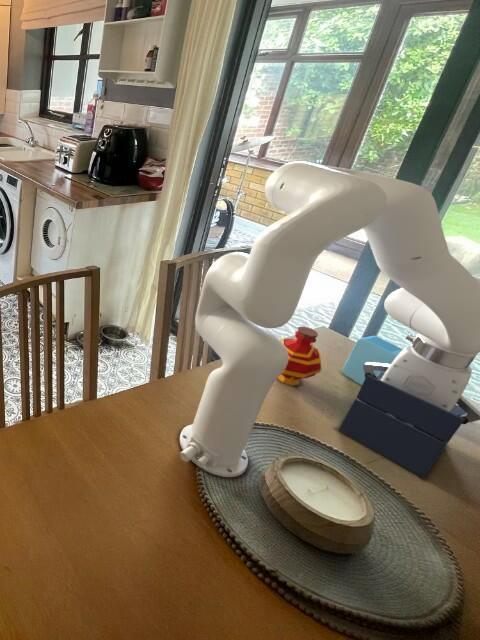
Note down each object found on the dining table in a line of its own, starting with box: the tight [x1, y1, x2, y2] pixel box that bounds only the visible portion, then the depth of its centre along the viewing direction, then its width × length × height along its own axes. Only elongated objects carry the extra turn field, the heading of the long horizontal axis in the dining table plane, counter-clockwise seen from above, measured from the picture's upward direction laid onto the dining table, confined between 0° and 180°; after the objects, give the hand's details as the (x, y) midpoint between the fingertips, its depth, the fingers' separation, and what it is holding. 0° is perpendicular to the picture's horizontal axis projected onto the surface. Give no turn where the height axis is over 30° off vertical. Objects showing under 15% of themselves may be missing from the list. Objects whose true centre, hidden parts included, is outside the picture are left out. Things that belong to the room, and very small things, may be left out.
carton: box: [338, 372, 467, 479], centre depth 88 cm, size 15×14×10 cm
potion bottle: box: [277, 326, 322, 386], centre depth 104 cm, size 10×10×15 cm
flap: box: [356, 375, 465, 443], centre depth 80 cm, size 7×14×1 cm
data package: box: [342, 335, 404, 386], centre depth 102 cm, size 12×4×12 cm, turn 16°
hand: (399, 417), depth 86 cm, fingers open, 9 cm apart
